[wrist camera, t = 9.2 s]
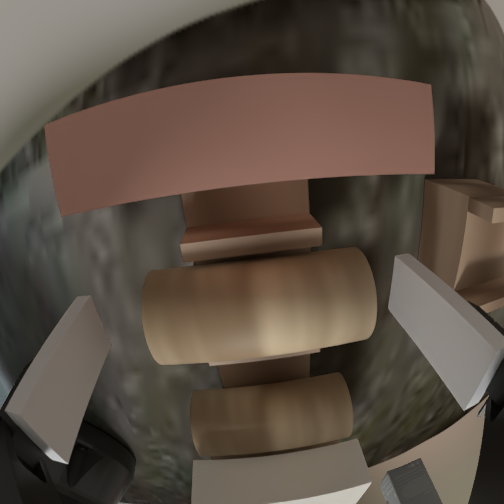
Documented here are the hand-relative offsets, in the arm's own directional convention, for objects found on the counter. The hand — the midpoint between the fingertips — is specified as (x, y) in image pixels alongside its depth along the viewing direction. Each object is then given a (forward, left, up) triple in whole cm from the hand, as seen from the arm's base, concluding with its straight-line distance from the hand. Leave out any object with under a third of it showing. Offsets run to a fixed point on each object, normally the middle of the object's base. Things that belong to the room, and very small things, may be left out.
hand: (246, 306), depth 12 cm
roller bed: (0, -9, -4) cm, 10 cm away
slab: (0, -15, +3) cm, 15 cm away
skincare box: (+21, -43, -5) cm, 49 cm away
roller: (0, 0, -1) cm, 1 cm away
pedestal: (+13, +1, -4) cm, 14 cm away
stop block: (0, +7, -4) cm, 8 cm away
